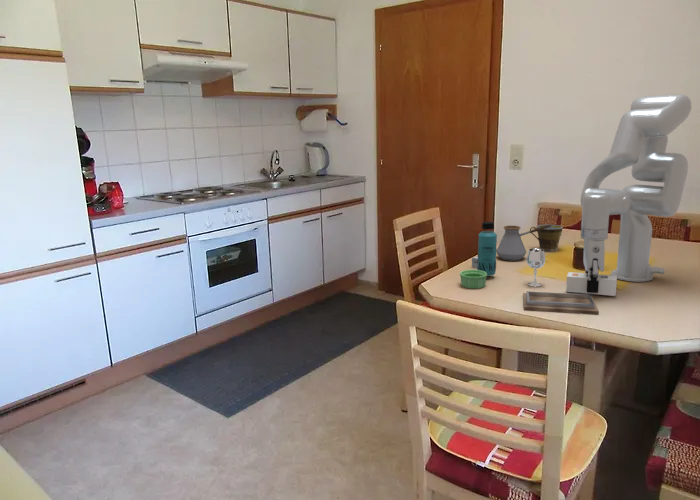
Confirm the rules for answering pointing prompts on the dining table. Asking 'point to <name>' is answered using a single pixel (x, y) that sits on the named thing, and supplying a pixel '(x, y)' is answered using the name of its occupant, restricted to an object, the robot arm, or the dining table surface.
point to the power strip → (579, 283)
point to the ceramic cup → (549, 237)
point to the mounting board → (559, 302)
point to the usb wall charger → (474, 262)
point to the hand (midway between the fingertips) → (590, 288)
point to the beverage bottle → (487, 249)
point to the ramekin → (473, 279)
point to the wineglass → (535, 262)
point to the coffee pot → (513, 243)
